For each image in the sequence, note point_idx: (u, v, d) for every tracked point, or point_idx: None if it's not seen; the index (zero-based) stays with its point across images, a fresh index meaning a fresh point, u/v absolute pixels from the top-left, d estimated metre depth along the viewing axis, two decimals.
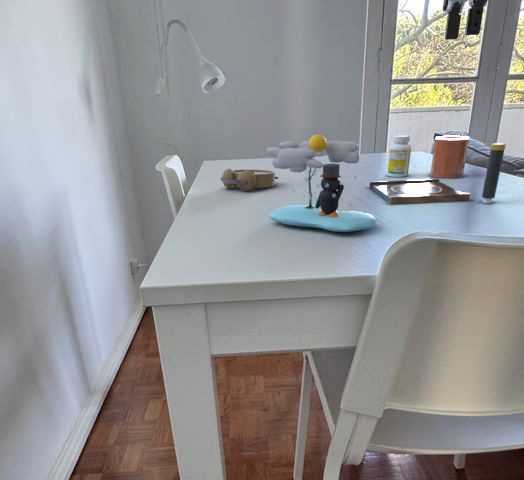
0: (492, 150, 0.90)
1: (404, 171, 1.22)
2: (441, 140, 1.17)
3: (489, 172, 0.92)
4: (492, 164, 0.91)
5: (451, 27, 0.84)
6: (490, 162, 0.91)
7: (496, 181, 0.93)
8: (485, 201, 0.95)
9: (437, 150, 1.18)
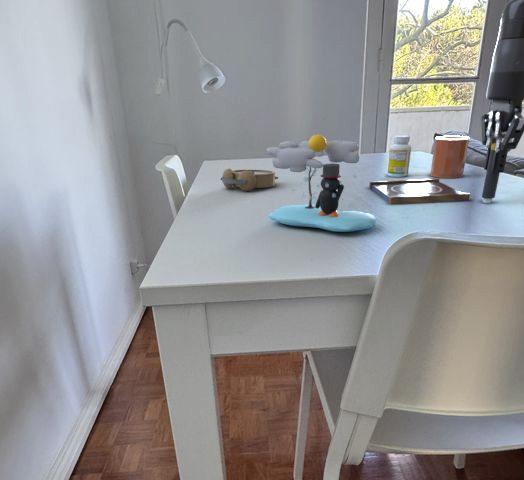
0: (492, 150, 0.90)
1: (404, 171, 1.22)
2: (441, 140, 1.17)
3: (489, 172, 0.92)
4: None
5: None
6: (490, 162, 0.91)
7: (496, 181, 0.93)
8: (485, 201, 0.95)
9: (437, 150, 1.18)
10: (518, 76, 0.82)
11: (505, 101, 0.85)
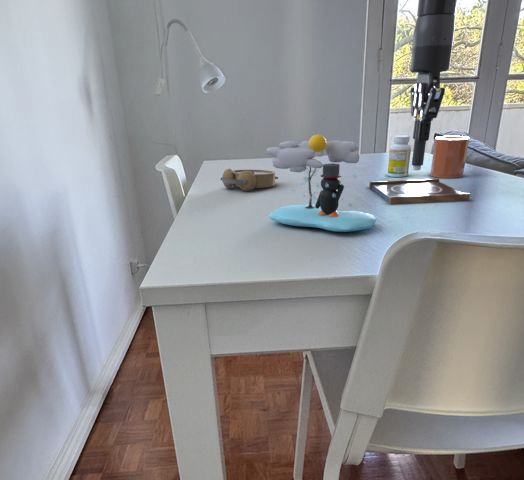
0: (418, 120, 0.99)
1: (404, 171, 1.22)
2: (441, 140, 1.17)
3: (416, 141, 1.00)
4: None
5: None
6: (416, 131, 1.00)
7: (423, 149, 1.01)
8: (414, 168, 1.03)
9: (437, 150, 1.18)
10: (434, 50, 0.90)
11: (425, 73, 0.93)
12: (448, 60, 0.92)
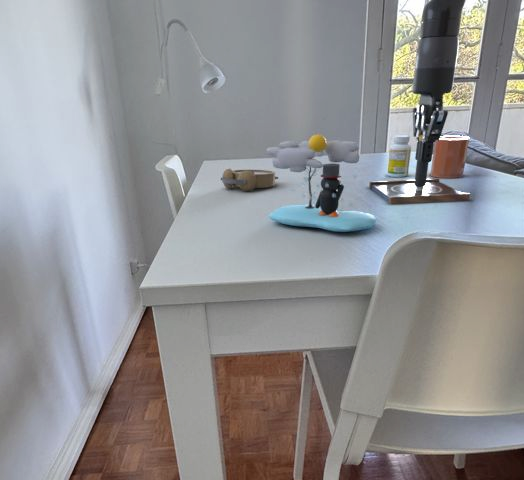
0: (420, 141, 0.97)
1: (404, 171, 1.22)
2: (441, 140, 1.17)
3: (418, 162, 0.99)
4: None
5: None
6: (419, 152, 0.98)
7: (425, 170, 1.00)
8: (417, 189, 1.02)
9: (437, 150, 1.18)
10: (437, 72, 0.88)
11: (428, 95, 0.92)
12: (451, 82, 0.90)
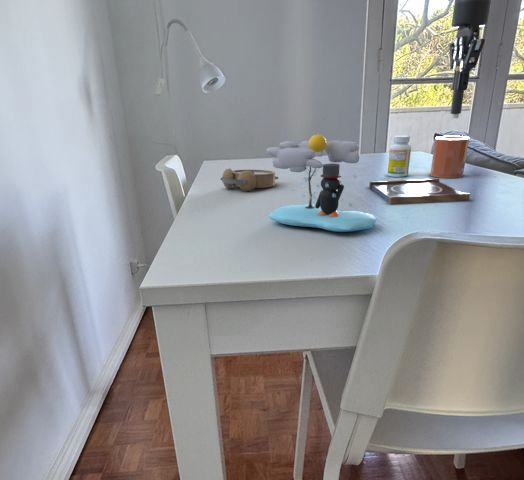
0: (457, 71, 1.10)
1: (404, 171, 1.22)
2: (441, 140, 1.17)
3: (455, 91, 1.12)
4: (457, 83, 1.11)
5: None
6: (456, 82, 1.11)
7: (461, 98, 1.12)
8: (453, 116, 1.15)
9: (437, 150, 1.18)
10: (475, 4, 1.01)
11: (466, 27, 1.05)
12: (487, 14, 1.03)
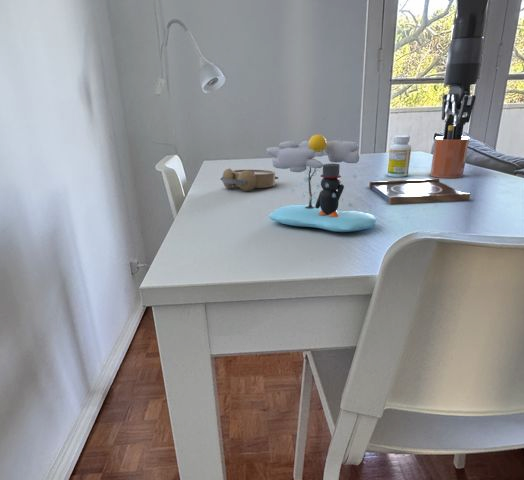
0: (449, 130, 1.17)
1: (404, 171, 1.22)
2: (441, 140, 1.17)
3: None
4: None
5: (447, 132, 1.20)
6: None
7: None
8: None
9: (437, 150, 1.18)
10: (466, 66, 1.07)
11: (457, 86, 1.11)
12: (477, 75, 1.09)
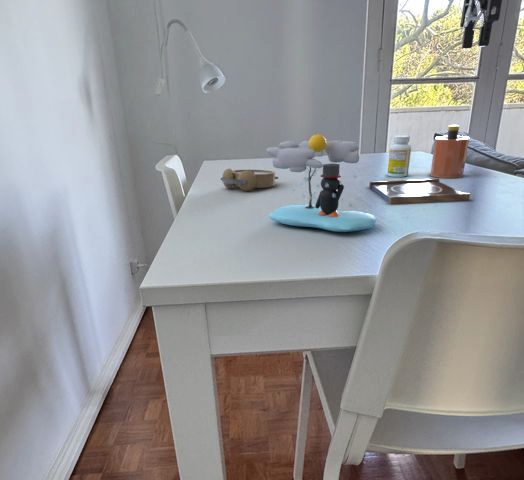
0: (449, 130, 1.17)
1: (404, 171, 1.22)
2: (441, 140, 1.17)
3: None
4: None
5: (466, 39, 1.11)
6: None
7: None
8: None
9: (437, 150, 1.18)
10: None
11: None
12: None
